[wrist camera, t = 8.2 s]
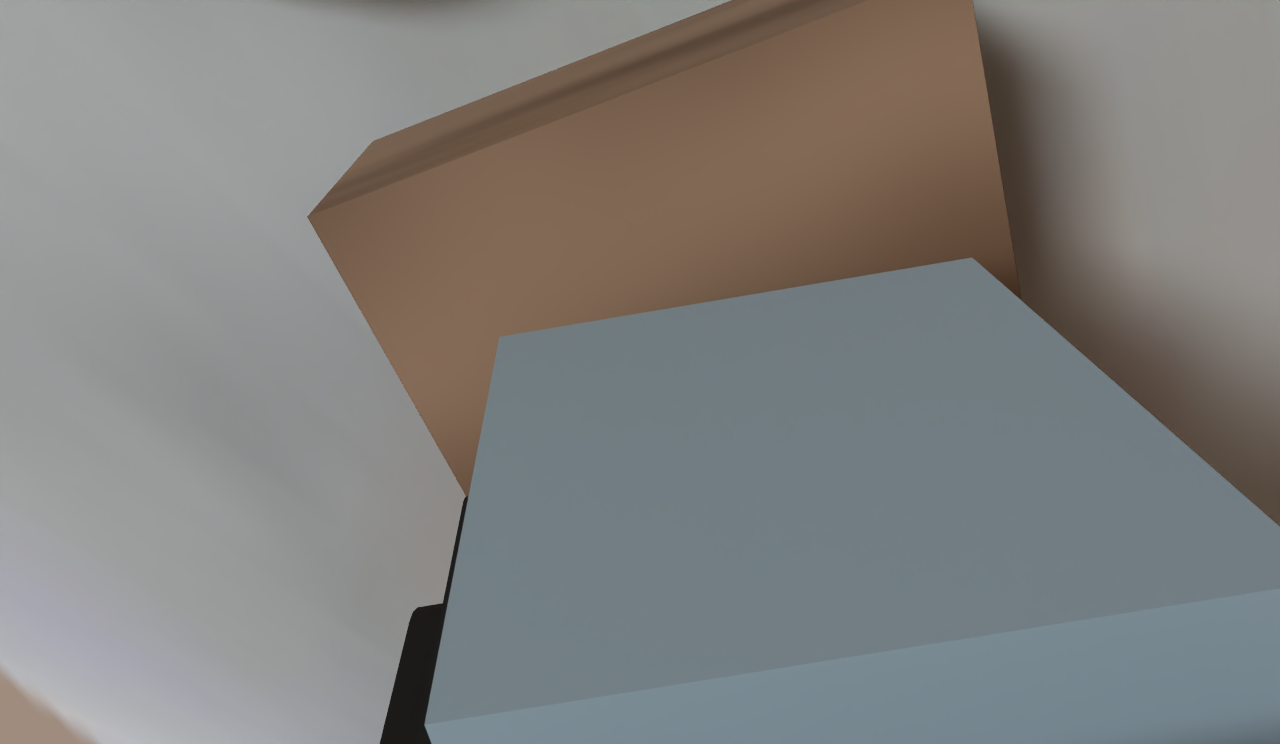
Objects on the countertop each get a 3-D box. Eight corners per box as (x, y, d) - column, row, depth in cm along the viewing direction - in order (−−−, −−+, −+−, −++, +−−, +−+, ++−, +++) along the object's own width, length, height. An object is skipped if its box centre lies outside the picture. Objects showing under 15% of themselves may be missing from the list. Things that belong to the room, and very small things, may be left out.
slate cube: (499, 337, 11) (425, 725, 6) (972, 257, 11) (1339, 578, 6) (586, 675, 14) (589, 1147, 9) (964, 615, 14) (1204, 1055, 8)
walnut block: (375, 138, 17) (307, 217, 13) (861, -54, 16) (966, -38, 12) (565, 514, 22) (562, 666, 18) (954, 384, 21) (1055, 511, 17)
